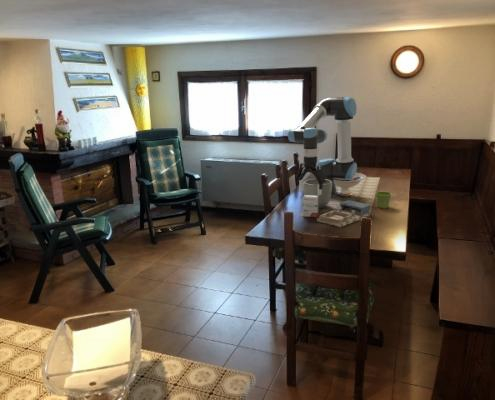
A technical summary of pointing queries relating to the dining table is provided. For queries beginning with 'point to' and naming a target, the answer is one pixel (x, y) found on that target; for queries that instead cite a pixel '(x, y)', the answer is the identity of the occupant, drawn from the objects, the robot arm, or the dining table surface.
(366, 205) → the block
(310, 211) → the ink box
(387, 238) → the dining table surface
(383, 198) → the plant pot
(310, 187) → the planter
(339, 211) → the cradle
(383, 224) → the dining table surface
